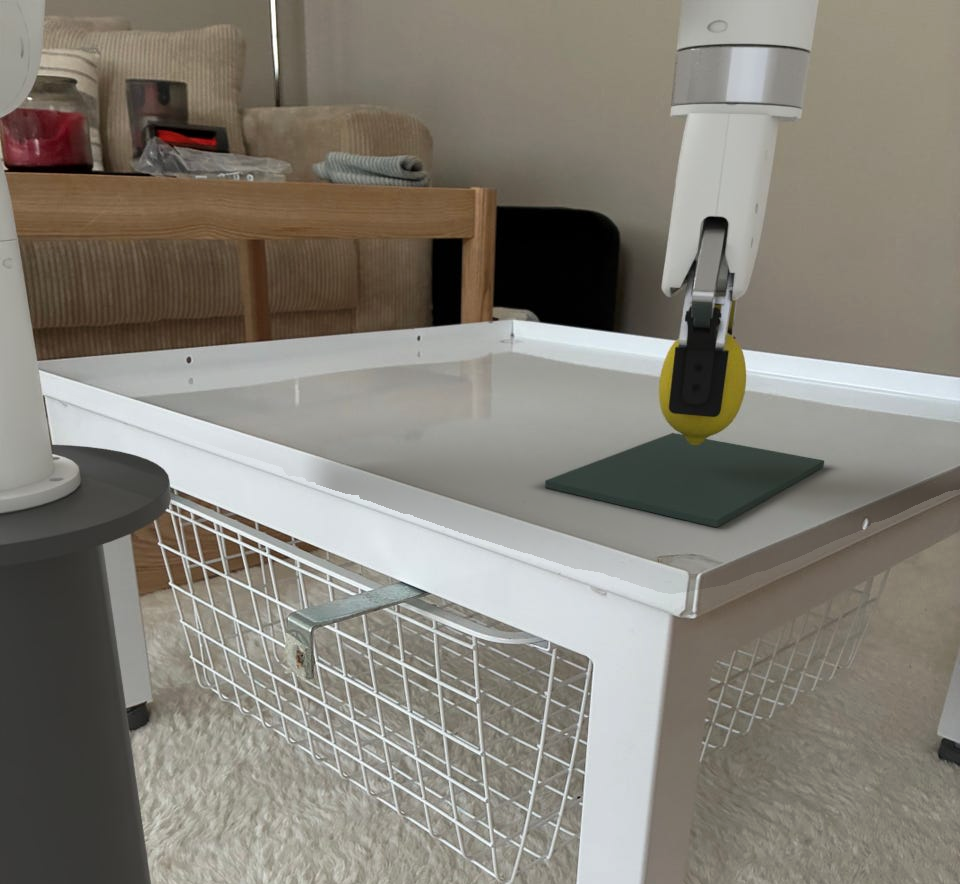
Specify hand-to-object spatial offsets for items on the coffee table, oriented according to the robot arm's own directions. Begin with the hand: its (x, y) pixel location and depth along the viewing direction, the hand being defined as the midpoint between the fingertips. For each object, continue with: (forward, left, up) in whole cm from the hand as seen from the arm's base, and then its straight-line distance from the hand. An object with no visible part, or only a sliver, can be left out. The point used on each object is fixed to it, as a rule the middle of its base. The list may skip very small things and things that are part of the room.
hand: (699, 401), depth 65 cm
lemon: (0, 0, -3) cm, 3 cm away
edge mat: (0, 0, -5) cm, 5 cm away
